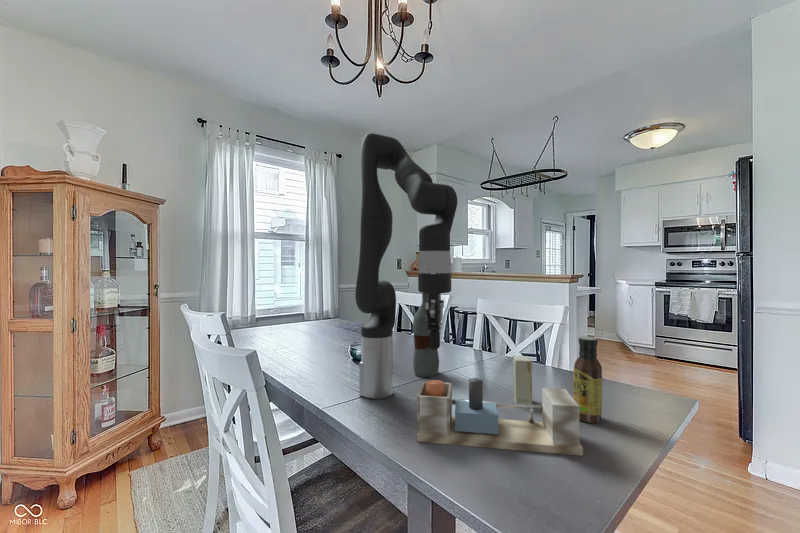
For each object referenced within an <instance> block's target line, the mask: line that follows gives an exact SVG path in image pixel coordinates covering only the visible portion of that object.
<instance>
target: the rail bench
mask: <svg viewBox="0 0 800 533" xmlns="http://www.w3.org/2000/svg"><path fill="white" fill-rule="evenodd" d="M426 382H427V381H422V383H421V385H420V387H419V390H418V392H417V395H416V430H417V431H416V442H419V443H430V444H431V443H432V444H442V445H455V446H467V447H476V448H477V447H478V448H489V449H490V448H491V449H501V450H511V451H522V452H533V453H534V452H536V453H546V454H547V453H548V454H558V455H559V454H560V455H571V456H580V457H582V456H583V457H584V447H583V446H582V444H581V443H580V419H579V405H578V404H577V403H576V402H575V400H574V399H573V396H572V395H571V394H570V393H569V392H568V390H567V389H566V388H551V387H550V388H548V387H547V388H546V387H542V389H541V393H542V395H541V397H542V402H541V403H542V404H541V405H542V407H543V410H541V413H542V415H541V416H542V417H541V418H542V421H534V423H529V422H528V420H520V419H518V420H517V419H504V418H498V434H488V433H476V432H463V431H455V415H452V414H453V412H452V411H453V405H452V399H453V397H452V396H453V394H452V393H453V392H452V391H453V387H452V386H453V384H452V382H444V397H438V396H427V395H426Z"/></svg>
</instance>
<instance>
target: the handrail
mask: <svg viewBox="0 0 800 533" xmlns="http://www.w3.org/2000/svg"><path fill="white" fill-rule="evenodd" d="M456 400H458V399H457V398H456V399H453V398H452V406H456ZM459 400H460V401H469V399H459ZM483 402H491V403H496V407H497V409H499V408H500V409H512V410H514V409H515V410H527V421H528V422H529V423H534V422H535V421H534V420H535V418H534V414H535V413H534V412H535V411H542V410H543V407H542V404H533V403H532V404H520V403H515V402H505V401H504V402H501V401H488V400H487V401H486V400H483Z"/></svg>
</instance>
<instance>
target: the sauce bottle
mask: <svg viewBox="0 0 800 533" xmlns="http://www.w3.org/2000/svg"><path fill="white" fill-rule="evenodd" d="M578 344H579V347H578V349H579V353H578V358H577V359H576V360H575V362H574V364H573V371H572V372H573V377H572V378H573V379H572V380H573V382H572V383H573V384H572V385H573V386H572V387H573V388H572V389H573V391H572V392H573V393H572V398H573V399H574V400H575V402H576V403H577V404H578V405H579V421H583V422H585V423H590V424H597V423H599V422H601V421H602V413H603V412H602V409H603V407H602V406H603V405H602V404H603V370H602V369H603V368H602V365H601V362H600V361H599V360H598V358H597V356H598V354H597V346H598V338H596V337H593V336H585V335H583V336H579V337H578Z"/></svg>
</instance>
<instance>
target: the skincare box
mask: <svg viewBox="0 0 800 533" xmlns="http://www.w3.org/2000/svg"><path fill="white" fill-rule="evenodd" d="M532 365H533V362H532V359H531V358H530V357H529V356H527V355H526V356H525V355H512V379H513V380H512V382H513V384H512V386H513V391H512V392H513V397H512V398H513V401H514V402H513V403H520V404H533V366H532Z"/></svg>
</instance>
